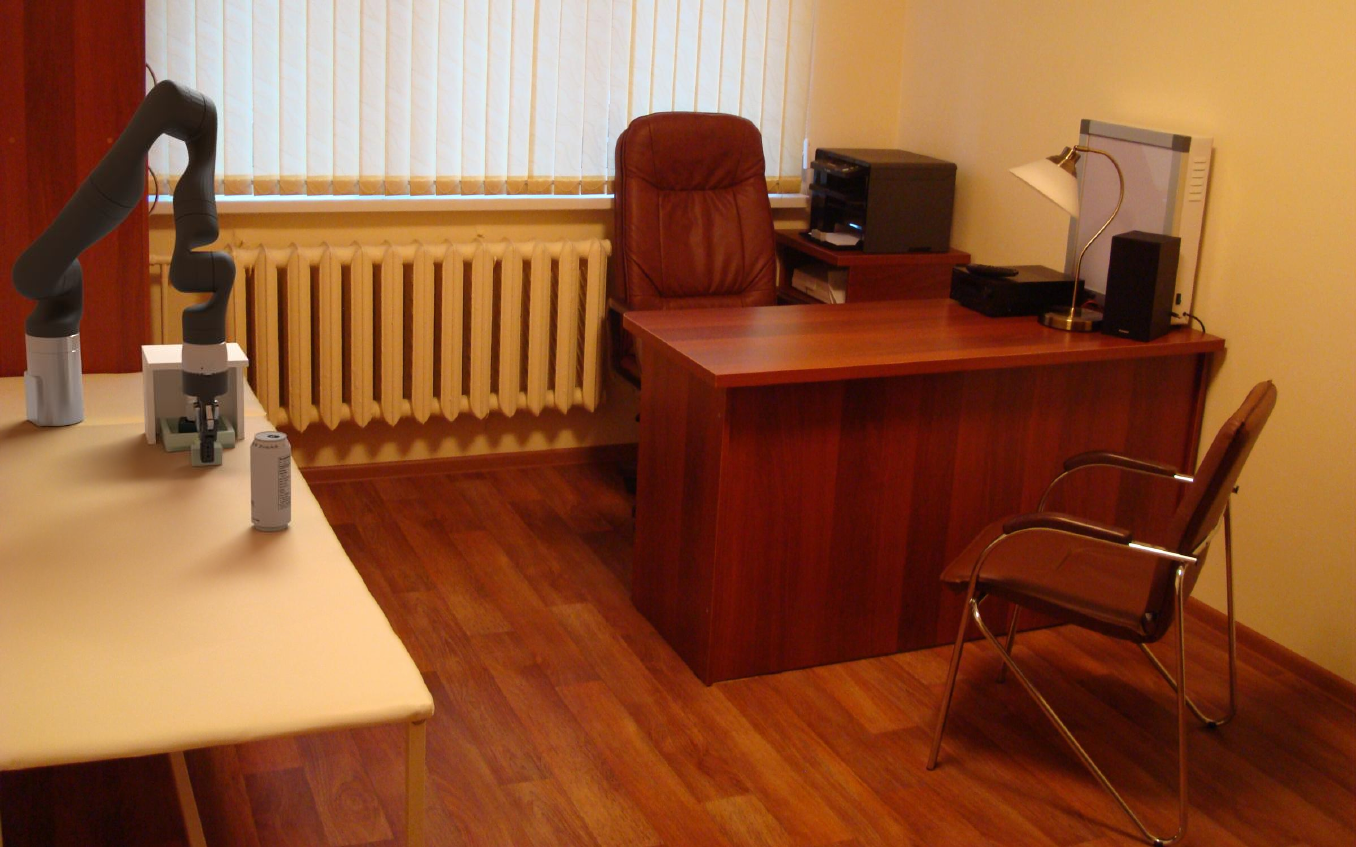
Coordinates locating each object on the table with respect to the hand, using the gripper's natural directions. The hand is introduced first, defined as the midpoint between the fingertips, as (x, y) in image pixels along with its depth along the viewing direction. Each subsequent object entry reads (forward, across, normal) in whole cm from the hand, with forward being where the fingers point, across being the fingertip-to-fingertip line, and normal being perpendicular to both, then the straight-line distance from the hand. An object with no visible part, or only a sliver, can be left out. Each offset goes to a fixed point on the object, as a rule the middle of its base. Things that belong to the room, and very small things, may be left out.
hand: (207, 461), depth 225 cm
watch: (+1, -18, 0) cm, 18 cm away
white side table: (+1, -17, 0) cm, 17 cm away
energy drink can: (+2, +30, +6) cm, 31 cm away
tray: (+1, -13, 0) cm, 13 cm away
